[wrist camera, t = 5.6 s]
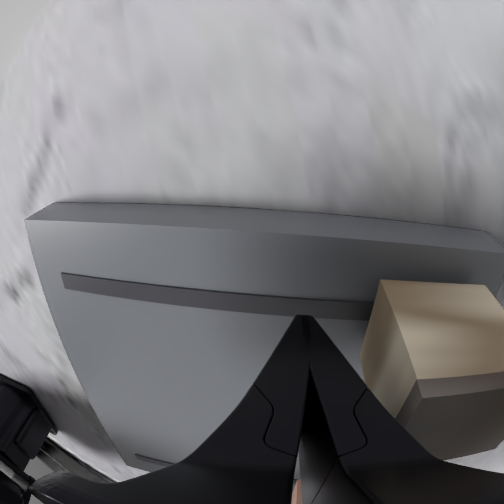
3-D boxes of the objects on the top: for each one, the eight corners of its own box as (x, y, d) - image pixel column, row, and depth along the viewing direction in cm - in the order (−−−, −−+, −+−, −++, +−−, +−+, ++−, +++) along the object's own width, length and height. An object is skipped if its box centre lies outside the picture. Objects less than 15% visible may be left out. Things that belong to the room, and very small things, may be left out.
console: (134, 445, 20) (126, 466, 19) (53, 202, 12) (22, 220, 10) (370, 469, 19) (372, 492, 17) (486, 231, 10) (512, 255, 8)
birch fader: (357, 354, 10) (374, 468, 6) (379, 277, 9) (422, 398, 5) (456, 353, 10) (494, 448, 6) (486, 283, 9) (552, 377, 5)
